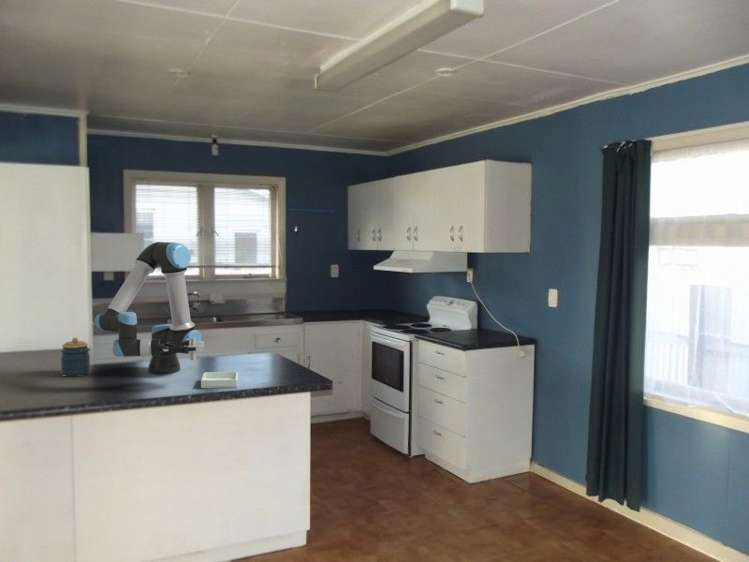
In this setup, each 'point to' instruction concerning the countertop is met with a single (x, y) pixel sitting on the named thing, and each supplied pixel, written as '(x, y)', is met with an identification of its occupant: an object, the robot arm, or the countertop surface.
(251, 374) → the countertop surface
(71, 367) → the canister
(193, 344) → the pipe connector
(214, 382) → the tray
